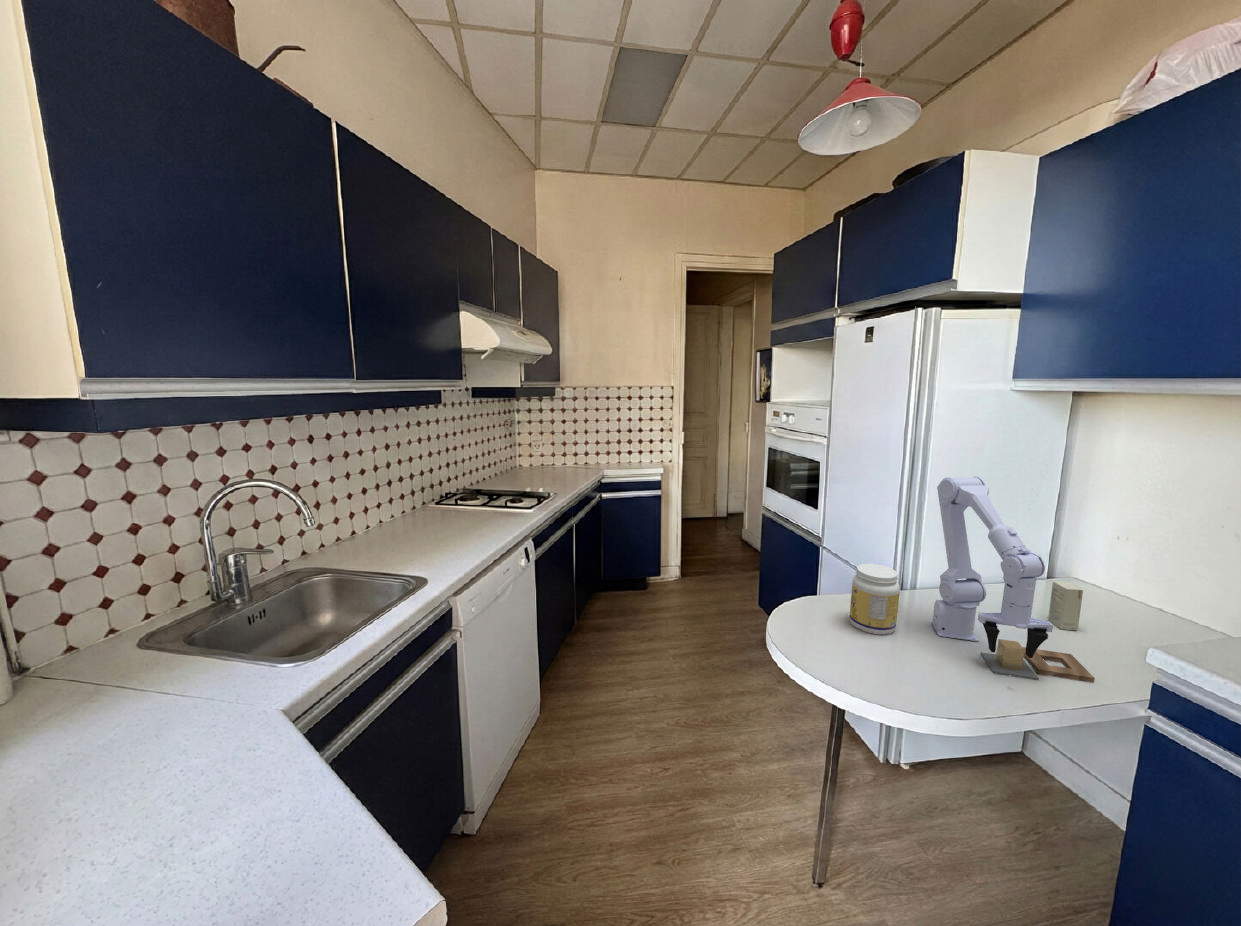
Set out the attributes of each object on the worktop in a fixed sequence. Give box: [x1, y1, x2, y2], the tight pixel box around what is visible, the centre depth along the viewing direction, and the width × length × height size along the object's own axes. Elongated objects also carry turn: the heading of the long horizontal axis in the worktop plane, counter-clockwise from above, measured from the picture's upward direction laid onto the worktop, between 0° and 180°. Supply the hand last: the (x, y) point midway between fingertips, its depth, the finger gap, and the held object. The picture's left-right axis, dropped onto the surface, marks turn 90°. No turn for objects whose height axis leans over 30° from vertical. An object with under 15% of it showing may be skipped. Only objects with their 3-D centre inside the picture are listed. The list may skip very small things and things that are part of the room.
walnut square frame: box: [1022, 646, 1096, 683], centre depth 124 cm, size 11×11×1 cm
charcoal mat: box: [980, 651, 1039, 681], centre depth 123 cm, size 9×9×1 cm
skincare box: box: [1047, 580, 1084, 631], centre depth 143 cm, size 6×4×12 cm
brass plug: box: [996, 638, 1025, 671], centre depth 123 cm, size 4×4×6 cm
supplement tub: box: [849, 563, 901, 635], centre depth 143 cm, size 12×12×17 cm
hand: (1010, 653), depth 123 cm, fingers open, 7 cm apart
